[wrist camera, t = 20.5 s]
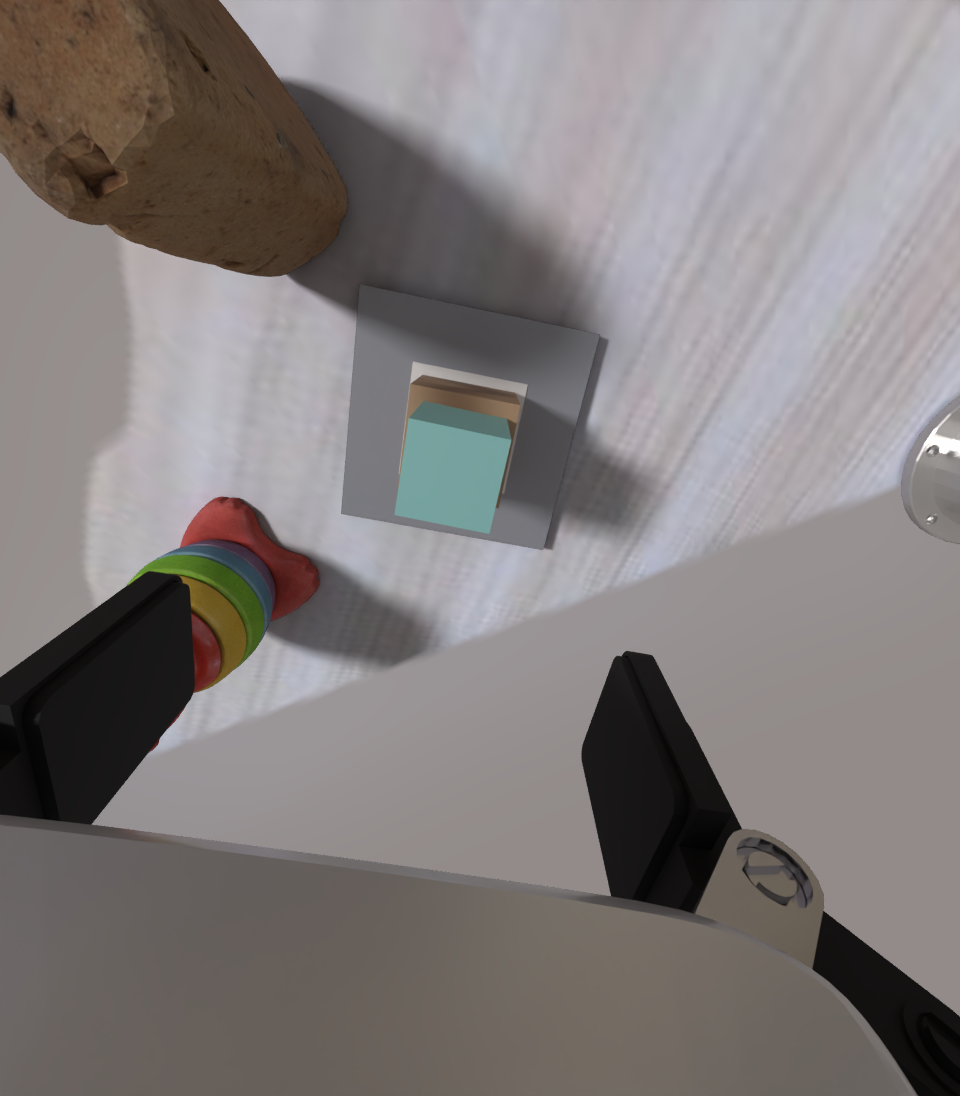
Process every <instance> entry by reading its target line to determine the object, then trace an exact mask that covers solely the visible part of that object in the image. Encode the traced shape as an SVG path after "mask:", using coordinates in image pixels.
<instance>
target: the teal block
mask: <svg viewBox="0 0 960 1096" xmlns="http://www.w3.org/2000/svg"><path fill="white" fill-rule="evenodd" d="M510 444H511V436H510V431H509V426H508V421H507V419H506V418H501V417H496V416H492V415H487V414H483V413H478V412H473V411H469V410H464V409H459V408H455V407H450V406H446V405H441V404H436V403H432V402H427V401H423V402H422V403H421V404H420V405H419V407H418V408H417V409H416V410H415V411H414V412H413V414H412V415H411V416H410V417H409V420H408V427H407V433H406V440H405V447H404V454H403V460H402V467H401V474H400V480H399V487H398V494H397V501H396V507H395V514H394V515H397V516H402V517H407V518H412V519H417V520H422V521H427V522H432V523H437V524H442V525H447V526H452V527H457V528H462V529H467V530H472V531H477V532H482V533H487V534H489V533H490V529H491V525H492V521H493V516H494V512H495V508H496V504H497V499H498V495H499V491H500V487H501V482H502V478H503V474H504V470H505V465H506V461H507V457H508V453H509V448H510Z"/></svg>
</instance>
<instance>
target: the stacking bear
mask: <svg viewBox="0 0 960 1096" xmlns="http://www.w3.org/2000/svg"><path fill="white" fill-rule="evenodd" d="M148 571H155V572H161V573H167V574H172V575H178V576H180V577H181V579H182V581H183V583H185V584H187V585H188V586H189V588H190V598H191V616H192V635H193V654H194V672H195V688H194V692H193V693H195V692H199V691H203V690H205V689H208V688H210V687H212V686H213V685H215V684H216V683H218V682H219V681H221V680H222V679H223V678H225V677H226V676H227V675H228V674H230V673H231V672H232V671H233V670H234V669H236V668H237V667H238V666H240V665H241V664H242V663H243V662H244V661H245V660H246V659H247V658H248V657H249V656H250V655H251V654H252V653H253V652H254V650H255V649H256V648H257V646H258V645H259V643H260V642H261V640H262V638H263V637H264V634H265V632H266V630H267V628H268V625H269V622H270V621H272V620H275V619H278V618H280V617H283V616H285V615H287V614H289V613H290V612H292V611H294V610H296V609H297V608H298V607H300V606H301V605H302V604H303V603H305V602H306V601H307V600H308V599H309V598H310V597H311V596H312V595H313V594H314V593H315V591H316V590H317V588H318V586H319V579H318V574H319V573H318V570H317V568H316V567H315V566H313V565H312V564H311V562H310V561H309V559H307V558H306V557H304V556H302V555H300V554H296V553H293V552H289V551H287V550H284V549H282V548H280V547H279V546H277V545H276V544H274V543H273V542H272V541H271V540H270V539H269V538H268V537H267V536H266V535H265V534H264V533H263V531H262V530H261V527H260V525H259V523H258V520H257V518H256V515H255V513H254V512H253V510H252V509H251V508H250V507H248V506H247V505H245V504H243V503H242V501H241V500H240V499H238V498H226V497H218V498H215V499H213V500H212V501H210V502H209V503H208V504H207V505H206V506H204V507H203V508H202V509H201V510H200V511H199V513H198V514H197V515H196V516H195V517H194V519H193V520H192V521H191V523H190V524H189V526H188V528H187V530H186V532H185V534H184V536H183V539H182V542H181V546H180V548H179V549H176V550H173V551H171V552H169V553H167V554H165V555H163V556H161V557H159V558H157V559H156V560H154V561H153V562H151V563H149V564H148V565H146V566H145V567H144V568H142V569H141V570H140V571H139V572H138V573H137V574H136V575H135V576H134V577H133V579H132V580H131V581H130V582H129V583H128V584H127V585H129V584H130V583H132V582H133V581H134V580H136V579H137V578H139V577H140V576H141V575H143V574H144V573H146V572H148ZM184 708H185V707H184ZM184 708H183V710H184ZM183 710H182V711H183ZM182 711H181V712H180V713H179V715H178V716H177V717H176V718H175V720H174V721H173V722H172V723H171V725H172V724H173V723H174V722H175V721H176V719H177V718H178V717H179V716H180V714H181V713H182ZM171 725H170V726H171ZM170 726H169V727H170ZM169 727H168V728H169ZM158 743H159V740H158V741H157V742H156V744H155V745H154V746H153V747H152V749H151V750H150V751H152V750H153V749H154V748H155V747H156V746H157V745H158ZM150 751H149V752H150ZM149 752H148V753H149Z"/></svg>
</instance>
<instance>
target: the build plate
mask: <svg viewBox="0 0 960 1096" xmlns="http://www.w3.org/2000/svg"><path fill="white" fill-rule="evenodd" d="M599 336H600V334H596V333H591V332H586V331H581V330H577V329H572V328H567V327H562V326H557V325H553V324H548V323H543V322H538V321H533V320H529V319H524V318H519V317H514V316H510V315H505V314H500V313H495V312H490V311H486V310H481V309H476V308H471V307H466V306H462V305H457V304H452V303H447V302H443V301H438V300H433V299H428V298H423V297H419V296H414V295H409V294H404V293H399V292H395V291H390V290H385V289H380V288H376V287H371V286H366V285H361V284H360V286H359V299H358V311H357V323H356V336H355V348H354V361H353V373H352V385H351V398H350V410H349V423H348V435H347V447H346V460H345V472H344V484H343V497H342V509H341V514H345V515H350V516H356V517H361V518H367V519H373V520H378V521H384V522H389V523H395V524H401V525H406V526H412V527H417V528H423V529H428V530H434V531H440V532H445V533H451V534H456V535H462V536H467V537H473V538H479V539H484V540H490V541H495V542H501V543H506V544H512V545H518V546H523V547H529V548H534V549H540V550H543V549H544V545H545V541H546V537H547V533H548V530H549V526H550V522H551V518H552V514H553V511H554V507H555V503H556V499H557V495H558V492H559V488H560V484H561V480H562V477H563V473H564V469H565V465H566V461H567V458H568V454H569V450H570V446H571V442H572V439H573V435H574V431H575V427H576V423H577V420H578V416H579V412H580V408H581V405H582V401H583V397H584V393H585V389H586V386H587V382H588V378H589V374H590V370H591V367H592V363H593V359H594V355H595V351H596V348H597V344H598V340H599ZM421 375H427V376H432V377H438V378H443V379H448V380H453V381H458V382H463V383H468V384H474V385H479V386H484V387H489V388H494V389H499V390H504V391H509V392H515V393H516V395H517V398H518V400H519V403H520V405H521V406H520V411H519V415H518V420H517V425H516V429H515V434H514V439H513V444H512V448H511V453H510V458H509V462H508V467H507V472H506V477H505V481H504V486H503V491H502V496H501V500H500V505H499V509H498V508H495V512H494V516H493V521H492V525H491V529H490V533H489V534H487V533H482V532H477V531H472V530H467V529H462V528H457V527H452V526H447V525H442V524H437V523H432V522H427V521H422V520H417V519H412V518H407V517H402V516H397V515H394V514H395V507H396V501H397V494H398V490H397V489H398V480H399V472H400V464H401V456H402V448H403V440H404V431H405V423H406V415H407V407H408V399H409V391H410V384H411V383H412V382H413V381H415V380H416V379H417V378H419V377H420V376H421Z"/></svg>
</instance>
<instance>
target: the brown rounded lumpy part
mask: <svg viewBox="0 0 960 1096" xmlns="http://www.w3.org/2000/svg"><path fill="white" fill-rule="evenodd" d="M0 152H1V153H2V154H3V155H4V156H5V157H6V158H7V160H8V161H9V163H10V164H11V166H12V167H13V169H14V171H15V172H16V173H17V175H18V176H19V177H20V178H21V179H22V180H23V181H24V182H25V183H26V184H27V185H28V187H29V188H30V189H31V190H32V191H33V192H34V193H35V194H36V195H37V196H38V197H40V198H41V199H42V200H44V201H45V202H46V203H48V204H49V205H50V206H52V207H53V208H54V209H55V210H57V211H58V212H60V213H61V214H63V215H64V216H66V217H67V218H69V219H73V220H76V221H79V222H83V223H87V224H91V225H105V224H106V225H108V226H109V227H110V228H111V229H112V230H113V231H114V232H115V233H116V234H118V235H120V236H121V237H123V238H125V239H127V240H129V241H131V242H134V243H138V244H141V245H144V246H146V247H148V248H153V249H157V250H158V251H161V252H164V253H167V254H170V255H174V256H177V257H181V258H186V259H189V260H193V261H198V262H203V263H207V264H213V265H216V266H219V267H221V268H223V269H227V270H231V271H235V272H239V273H243V274H248V275H255V276H266V277H273V276H282V275H285V274H287V273H289V272H291V271H293V270H295V269H297V268H299V267H300V266H302V265H303V264H305V263H306V262H308V261H309V260H311V259H312V258H314V257H315V256H317V255H318V254H320V253H321V252H322V251H324V250H325V249H326V248H327V247H328V246H329V245H330V244H331V243H332V242H333V241H334V239H335V238H336V236H337V235H338V232H339V227H340V222H341V221H342V220H343V218H344V216H345V213H346V211H347V203H348V197H347V189H346V187H345V185H344V183H343V181H342V179H341V176H340V174H339V172H338V170H337V169H336V167H335V165H334V163H333V162H332V160H331V158H330V156H329V155H328V153H327V151H326V150H325V148H324V147H323V145H322V143H321V141H320V139H319V138H318V136H317V135H316V133H315V131H314V130H313V128H312V127H311V125H310V124H309V122H308V120H307V119H306V117H305V116H304V114H303V112H302V111H301V110H300V108H299V107H298V105H297V104H296V102H295V101H294V100H293V98H292V97H291V96H290V94H289V93H288V92H287V90H286V89H285V87H284V86H283V84H282V83H281V81H280V80H279V78H278V77H277V75H276V74H275V73H274V71H273V70H272V68H271V67H270V65H269V64H268V63H267V61H266V60H265V59H264V57H263V56H262V55H261V53H260V52H259V51H258V49H257V48H256V47H255V45H254V44H253V43H252V41H251V40H250V39H249V37H248V36H247V35H246V33H245V32H244V31H243V30H242V29H241V27H240V26H239V25H238V24H237V22H236V21H235V20H234V19H233V17H232V16H231V15H230V13H229V12H228V11H227V10H226V8H225V7H224V6H223V5H222V3H221V2H220V1H219V0H0Z"/></svg>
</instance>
